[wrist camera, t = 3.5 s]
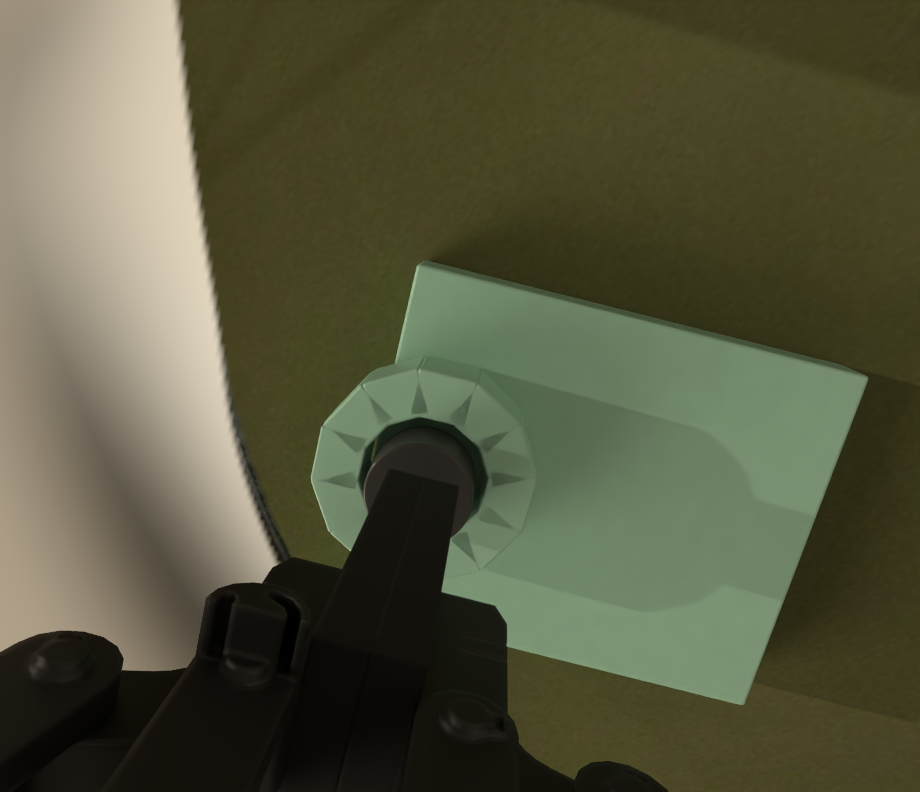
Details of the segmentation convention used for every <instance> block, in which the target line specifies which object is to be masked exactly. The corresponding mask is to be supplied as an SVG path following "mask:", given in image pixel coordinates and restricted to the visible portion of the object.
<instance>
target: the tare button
mask: <svg viewBox="0 0 920 792" xmlns="http://www.w3.org/2000/svg"><path fill="white" fill-rule="evenodd" d="M389 468H390V469H394V470H398V471H402V472H406V473H410V474H414V475H418V476H422V477H426V478H430V479H434V480H438V481H442V482H446V483H450V484H454V485H458V486H459V491H458V497H457V503H456V509H455V515H454V521H453V527H452V533H451V538H452V537H453V536H454V535H455V534H457V533H458V532H459V531H460V530H461V529H462V527H463V526H464V525H465V523H466V522H467V520H468V518H469V516H470V513H471V510H472V505H473V498H474V488H475V468H474V463H473V461H472V458H471V456H470V454H469V452H468V450H467V449H466V448H465V446H464V445H463V444H462V443H461V442H460V441H459V440H458V439H457V438H455V437H454V436H452V435H451V434H449V433H447V432H445V431H443V430H440V429H437V428H433V427H423V426H422V427H413V428H408V429H405V430H402V431H400V432H398V433H396V434H395V435H393V436H392V437H391V438H390V439H388V440H387V441H386V442H385V443H384V445H383V446H382V447H381V449H380V450H379V452H378V454H377V456H376V458H375V460H374V461H373V463H372V465H371V467H370V469H369V471H368V473H367V475H366V479H365V482H364V488H363V498H364V505H365V508H366V511H367V514H368V513H369V511H370V508H371V506H372V504H373V502H374V500H375V498H376V495H377V493H378V491H379V489H380V487H381V485H382V482H383V480H384V478H385V476H386V474H387V472H388V469H389Z"/></svg>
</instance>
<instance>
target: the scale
mask: <svg viewBox="0 0 920 792" xmlns="http://www.w3.org/2000/svg"><path fill="white" fill-rule="evenodd" d="M867 382H868V377H867V376H866V375H863V374H861V373H859V372H857V371H854V370H852V369H850V368H848V367H845V366H843V365H841V364H837V363H833V362H829V361H825V360H821V359H817V358H813V357H809V356H805V355H801V354H797V353H793V352H789V351H785V350H781V349H777V348H773V347H769V346H765V345H761V344H757V343H754V342H750V341H746V340H742V339H738V338H734V337H730V336H726V335H722V334H718V333H714V332H710V331H706V330H702V329H698V328H694V327H690V326H686V325H682V324H678V323H674V322H670V321H666V320H662V319H658V318H654V317H650V316H646V315H642V314H638V313H634V312H630V311H626V310H622V309H618V308H614V307H610V306H606V305H602V304H598V303H594V302H590V301H586V300H582V299H578V298H574V297H570V296H566V295H562V294H558V293H554V292H550V291H546V290H542V289H538V288H534V287H530V286H526V285H522V284H518V283H514V282H510V281H506V280H502V279H498V278H494V277H491V276H487V275H483V274H479V273H475V272H471V271H467V270H463V269H459V268H455V267H451V266H447V265H443V264H439V263H435V262H431V261H423V262H422V263H420V264H418V266H417V268H416V272H415V276H414V281H413V285H412V290H411V294H410V298H409V303H408V307H407V312H406V316H405V320H404V325H403V329H402V334H401V338H400V342H399V347H398V351H397V356H396V360H395V364H392V365H389V366H385V367H382V368H378V369H375V370H374V371H372V372H370V373H369V374H368V375H367V376H366V377H365V379H364V380H363V381H362V382H361V383H360V384H359V385H358V386H357V387H356V388H355V389H354V390H353V391H352V392H351V393H350V394H349V395H348V396H347V397H346V398H345V400H344V401H343V402H342V403H341V404H340V405H339V406H338V407H337V408H336V409H335V410H334V412H333V413H332V414H331V415H330V416H329V417H328V419H327V420H326V421H325V422H324V424H323V426H322V427H321V431H320V436H319V441H318V446H317V450H316V455H315V460H314V465H313V470H312V474H311V482H312V485H313V488H314V491H315V494H316V497H317V500H318V502H319V505H320V508H321V511H322V514H323V517H324V520H325V522H326V525H327V528H328V531H329V532H331V534H332V535H333V536H334V537H335V538H336V539H337V540H338V541H340V542H341V543H342V544H343V545H344V546H345V547H346V548H347V549H349V550H350V551H351V549H352V547H353V545H354V543H355V541H356V539H357V536H358V534H359V532H360V530H361V528H362V526H363V524H364V521H365V519H366V517H367V515H368V514H367V511H366V508H365V505H364V498H363V488H364V482H365V479H366V475H367V473H368V471H369V469H370V467H371V465H372V463H373V461H374V460H375V458H376V456H377V454H378V452H379V450H380V449H381V447H382V446H383V445H384V443H385V442H386V441H387V440H388V439H390V438H391V437H392V436H393V435H395V434H396V433H398V432H400V431H402V430H405V429H408V428H413V427H422V426H423V427H433V428H437V429H440V430H443V431H445V432H447V433H449V434H451V435H452V436H454V437H455V438H457V439H458V440H459V441H460V442H461V443H462V444H463V445H464V446H465V448H466V449H467V450H468V452H469V454H470V456H471V458H472V461H473V463H474V468H475V488H474V498H473V505H472V510H471V513H470V516H469V518H468V520H467V522H466V523H465V525H464V526H463V527H462V529H461V530H460V531H459V532H458V533H457V534H455V535H454V536H453V537H452V538H450V544H449V550H448V556H447V562H446V568H445V574H444V580H443V585H442V591H441V592H443V593H447V594H451V595H455V596H459V597H463V598H467V599H471V600H475V601H479V602H483V603H487V604H491V605H495V606H496V608H497V609H498V611H499V612H500V614H501V615H502V617H503V619H504V620H505V622H506V623H507V645H506V646H507V647H511V648H515V649H519V650H523V651H527V652H531V653H535V654H539V655H543V656H547V657H551V658H555V659H559V660H563V661H567V662H571V663H575V664H579V665H583V666H587V667H591V668H595V669H599V670H603V671H607V672H611V673H615V674H619V675H623V676H627V677H631V678H635V679H639V680H643V681H647V682H651V683H655V684H659V685H663V686H667V687H671V688H675V689H679V690H683V691H687V692H691V693H695V694H699V695H703V696H707V697H711V698H715V699H719V700H723V701H727V702H731V703H735V704H739V705H744V704H745V701H746V698H747V696H748V693H749V691H750V688H751V685H752V683H753V680H754V678H755V675H756V672H757V670H758V667H759V664H760V662H761V659H762V657H763V654H764V651H765V649H766V646H767V644H768V641H769V638H770V636H771V633H772V630H773V628H774V625H775V623H776V620H777V617H778V615H779V612H780V610H781V607H782V604H783V602H784V599H785V596H786V594H787V591H788V589H789V586H790V583H791V581H792V578H793V575H794V573H795V570H796V568H797V565H798V562H799V560H800V557H801V555H802V552H803V549H804V547H805V544H806V541H807V539H808V536H809V534H810V531H811V528H812V526H813V523H814V521H815V518H816V515H817V513H818V510H819V507H820V505H821V502H822V500H823V497H824V494H825V492H826V489H827V486H828V484H829V481H830V479H831V476H832V473H833V471H834V468H835V466H836V463H837V460H838V458H839V455H840V452H841V450H842V447H843V445H844V442H845V439H846V437H847V434H848V432H849V429H850V426H851V424H852V421H853V418H854V416H855V413H856V411H857V408H858V405H859V403H860V400H861V398H862V395H863V392H864V390H865V387H866V384H867ZM377 437H378V439H377V443H376V448H375V452H374V457H373V461H372V462H371V455H372V450H373V446H374V442H375V439H376V438H377Z"/></svg>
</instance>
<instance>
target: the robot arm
mask: <svg viewBox="0 0 920 792" xmlns="http://www.w3.org/2000/svg"><path fill="white" fill-rule="evenodd" d="M458 491H459V486H458V485H454V484H450V483H446V482H442V481H438V480H434V479H430V478H426V477H422V476H418V475H414V474H410V473H406V472H402V471H398V470H394V469H390V468H389V469H388V472H387V474H386V476H385V478H384V480H383V482H382V485H381V487H380V489H379V491H378V493H377V495H376V498H375V500H374V502H373V504H372V506H371V508H370V511H369V513H368V515H367V517H366V519H365V521H364V524H363V526H362V528H361V530H360V532H359V534H358V536H357V539H356V541H355V543H354V545H353V547H352V549H351V552H350V554H349V556H348V558H347V560H346V562H345V565H344V567H343V569H339V568H335V567H331V566H327V565H323V564H319V563H315V562H311V561H307V560H303V559H299V558H295V557H292V558H291V559H289V560H287V561H285V562H283V563H281V564H279V565H277V566H275V567H273V568H272V569H271V571H270V572H269V574H268V575H267V577H266V578H265V580H264V581H263V583H262V584H260V583H237V584H231V585H228V586H225V587H222V588H218V589H217V590H215V591H214V592H213V593H211V594H210V595H209V596H207V597H206V601H205V607H204V612H203V618H202V623H201V629H200V634H199V640H198V645H197V651H196V656H195V657H194V658H193V660H192V661H191V663H190V664H189V666H188V667H187V668H182V669H177V670H172V671H126V670H122V666H123V656H122V654H121V653H120V651H119V649H118V647H117V646H116V645H114V644H113V643H111V642H109V641H108V640H107V639H105V638H104V637H101V636H97V635H94V634H90V633H87V632H78V631H56V632H50V633H44V634H38V635H35V636H33V637H30V638H28V639H25V640H23V641H20V642H18V643H16V644H14V645H12V646H11V647H9V648H7V649H5V650H3V651H2V652H0V792H668V791H667V789H666V788H664V787H663V786H662V785H660V784H659V783H658V782H657V781H655V780H654V779H653V778H652V777H650V776H649V775H647V774H645V773H643V772H641V771H639V770H637V769H635V768H633V767H631V766H629V765H624V764H620V763H615V762H611V761H603V762H591V763H590V764H588V765H586V766H585V767H583V768H581V769H580V770H579V771H578V774H577V776H576V778H575V780H573V779H571V778H569V777H567V776H565V775H563V774H561V773H559V772H557V771H555V770H553V769H551V768H550V767H548V766H546V765H544V764H543V763H541V762H539V761H538V760H536V759H535V758H534V757H533V756H531V755H530V754H529V753H528V752H527V751H525V750H524V749H523V748H522V746H521V745H520V744H519V739H518V733H517V729H516V726H515V722H514V721H513V720H512V718H511V717H510V716H509V715H508V714H507V646H506V645H507V623H506V622H505V620H504V619H503V617H502V615H501V614H500V612H499V611H498V609H497V608H496V606H495V605H491V604H487V603H483V602H479V601H475V600H471V599H467V598H463V597H459V596H455V595H451V594H447V593H443V592H441V591H442V585H443V580H444V574H445V568H446V562H447V556H448V550H449V544H450V538H451V533H452V527H453V521H454V515H455V509H456V503H457V497H458Z"/></svg>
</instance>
